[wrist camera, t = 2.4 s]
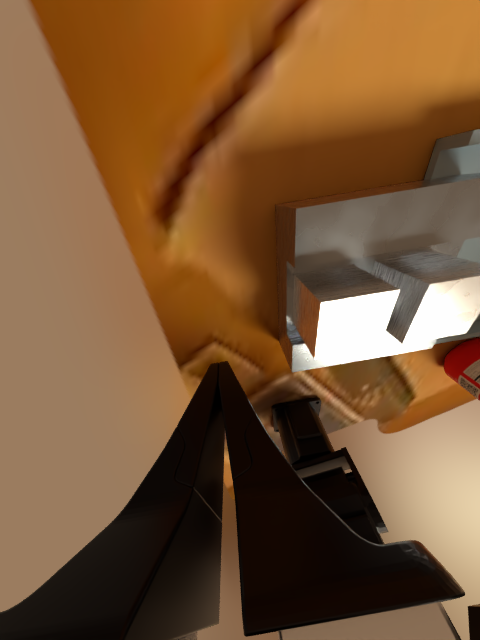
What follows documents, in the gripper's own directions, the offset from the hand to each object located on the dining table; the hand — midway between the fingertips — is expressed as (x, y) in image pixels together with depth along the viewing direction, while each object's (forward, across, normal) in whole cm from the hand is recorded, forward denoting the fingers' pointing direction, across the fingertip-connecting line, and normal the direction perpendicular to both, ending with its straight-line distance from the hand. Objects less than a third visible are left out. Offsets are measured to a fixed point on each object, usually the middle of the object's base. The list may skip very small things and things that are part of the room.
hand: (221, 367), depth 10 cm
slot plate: (+8, -11, 0) cm, 13 cm away
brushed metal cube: (+5, -13, 0) cm, 14 cm away
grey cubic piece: (+5, -7, 0) cm, 9 cm away
